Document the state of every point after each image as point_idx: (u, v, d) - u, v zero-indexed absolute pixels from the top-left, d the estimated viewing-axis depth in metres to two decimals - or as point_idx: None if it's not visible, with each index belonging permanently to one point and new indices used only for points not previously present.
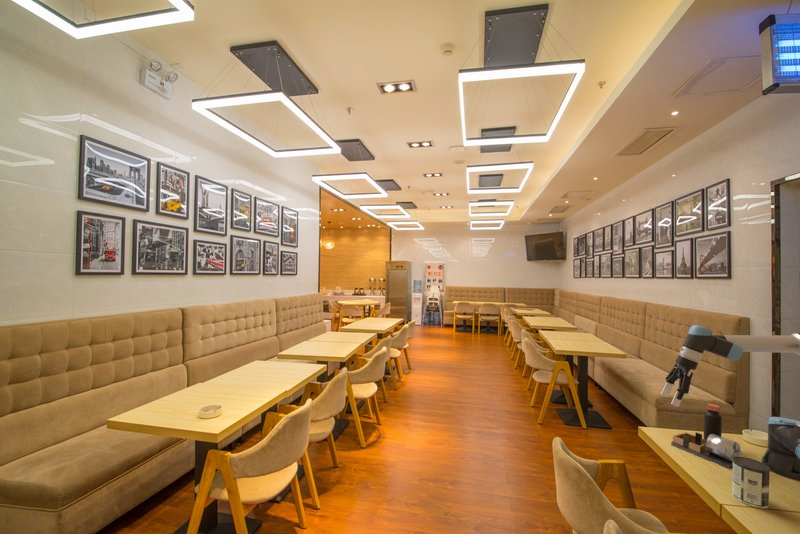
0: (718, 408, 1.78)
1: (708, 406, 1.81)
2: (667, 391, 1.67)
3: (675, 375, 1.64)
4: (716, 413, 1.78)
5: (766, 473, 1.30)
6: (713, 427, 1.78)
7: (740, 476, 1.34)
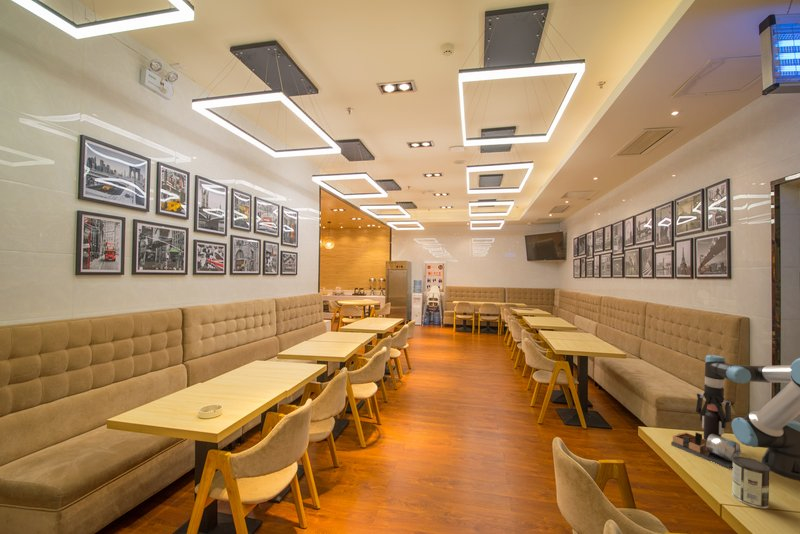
0: None
1: (708, 406, 1.81)
2: None
3: None
4: (716, 413, 1.78)
5: (766, 473, 1.30)
6: (713, 427, 1.78)
7: (740, 476, 1.34)
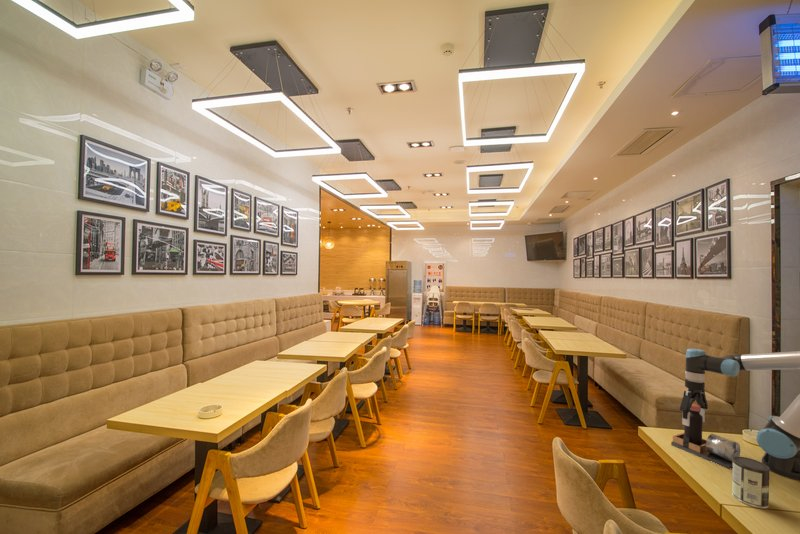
0: None
1: (697, 408, 1.73)
2: None
3: (696, 398, 1.77)
4: None
5: (766, 473, 1.30)
6: None
7: (740, 476, 1.34)
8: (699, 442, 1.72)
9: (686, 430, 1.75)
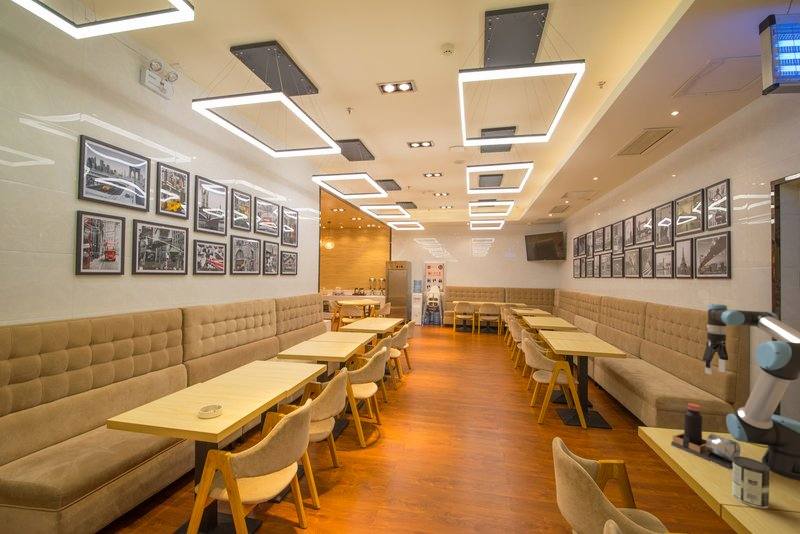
0: None
1: (697, 408, 1.73)
2: (722, 367, 1.91)
3: (717, 350, 1.90)
4: None
5: (766, 473, 1.30)
6: None
7: (740, 476, 1.34)
8: (699, 442, 1.72)
9: (686, 430, 1.75)
